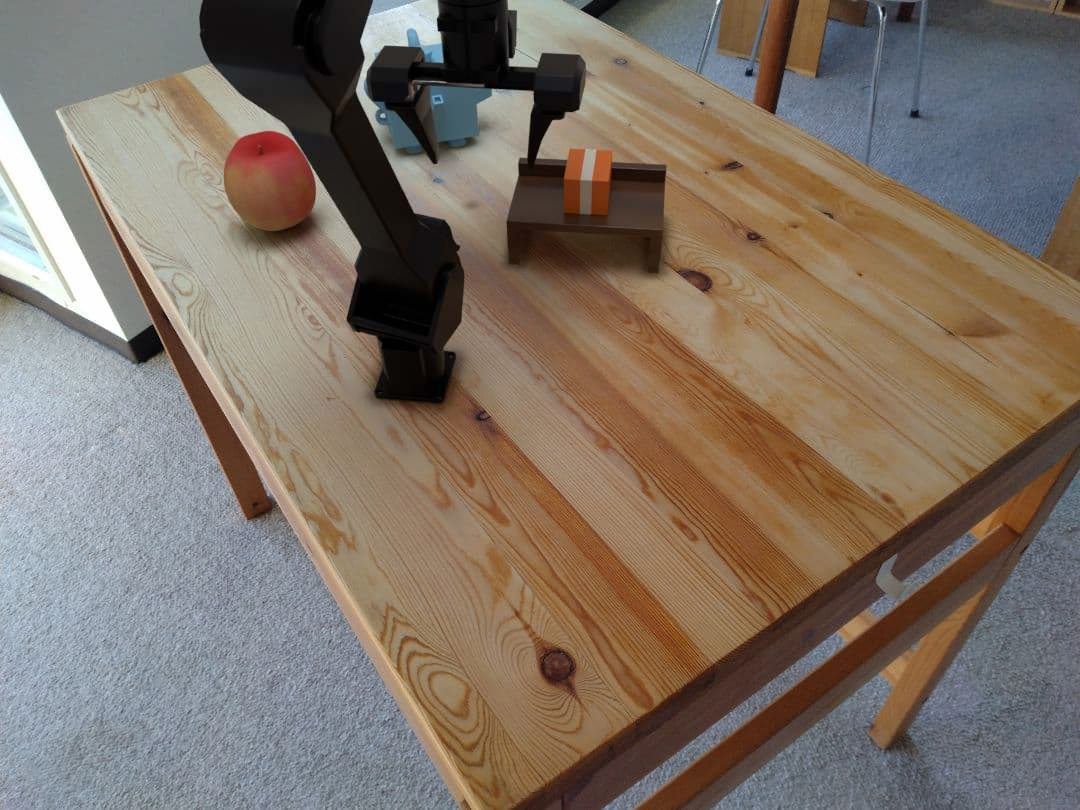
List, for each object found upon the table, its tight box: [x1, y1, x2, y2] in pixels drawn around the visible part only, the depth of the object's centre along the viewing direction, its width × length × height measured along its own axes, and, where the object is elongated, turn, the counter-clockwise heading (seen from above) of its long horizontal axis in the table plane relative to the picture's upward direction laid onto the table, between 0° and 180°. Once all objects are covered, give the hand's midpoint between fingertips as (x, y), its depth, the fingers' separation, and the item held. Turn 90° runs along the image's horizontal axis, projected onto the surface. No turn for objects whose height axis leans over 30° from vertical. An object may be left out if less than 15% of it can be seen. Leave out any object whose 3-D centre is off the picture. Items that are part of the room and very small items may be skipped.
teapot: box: [363, 27, 493, 154], centre depth 107 cm, size 16×18×11 cm
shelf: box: [505, 157, 668, 274], centre depth 91 cm, size 10×16×7 cm, turn 83°
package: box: [564, 147, 613, 215], centre depth 88 cm, size 6×4×4 cm
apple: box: [223, 130, 317, 232], centre depth 93 cm, size 10×10×10 cm
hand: (483, 165), depth 81 cm, fingers open, 9 cm apart
